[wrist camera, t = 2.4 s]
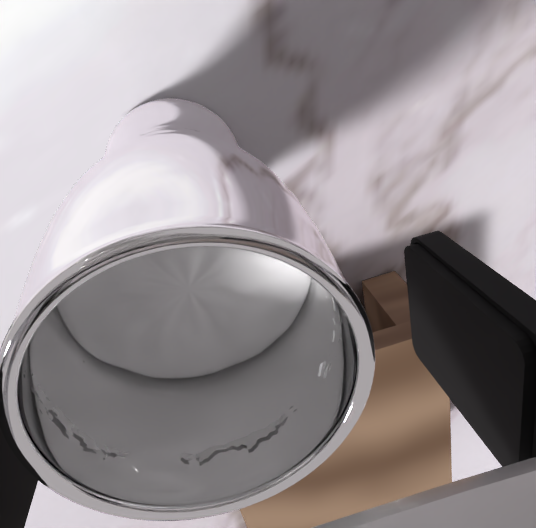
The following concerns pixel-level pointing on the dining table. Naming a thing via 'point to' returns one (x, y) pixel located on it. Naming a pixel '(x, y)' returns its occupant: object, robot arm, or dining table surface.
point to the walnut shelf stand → (376, 431)
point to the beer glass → (181, 330)
